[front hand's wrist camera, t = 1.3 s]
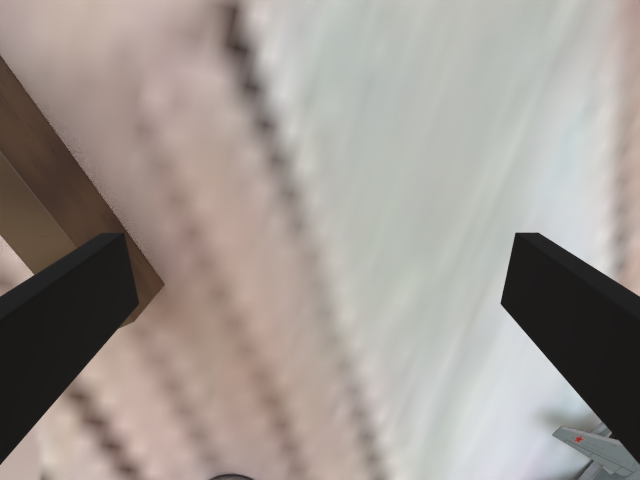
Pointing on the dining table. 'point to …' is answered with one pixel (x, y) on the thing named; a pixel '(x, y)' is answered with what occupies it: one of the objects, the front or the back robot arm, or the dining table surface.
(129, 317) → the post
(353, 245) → the dining table surface
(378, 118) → the dining table surface
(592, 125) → the dining table surface
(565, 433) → the airplane
